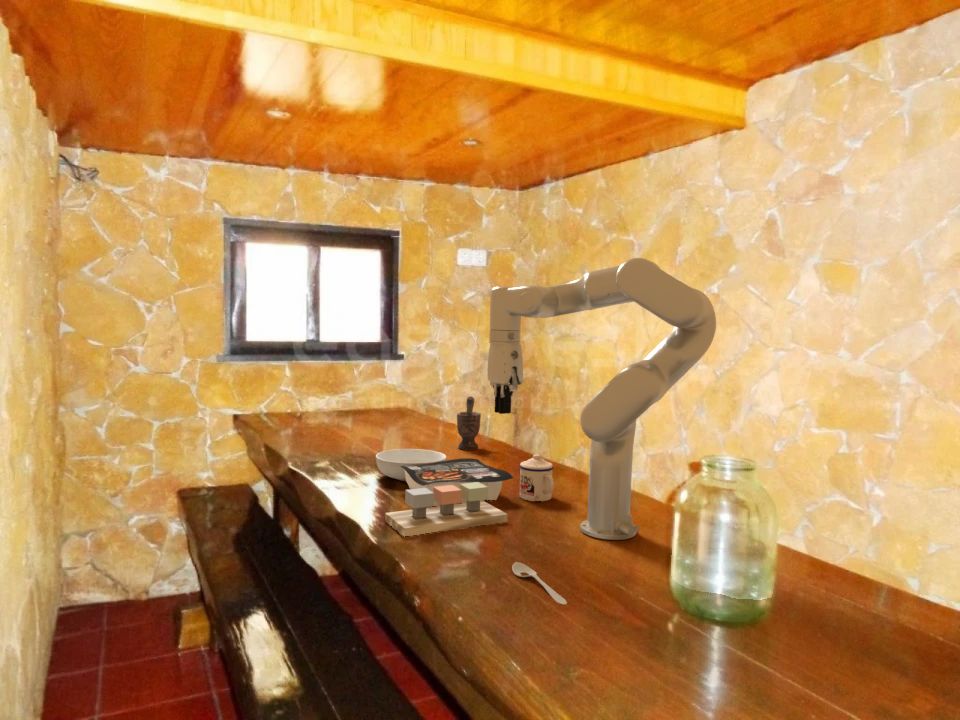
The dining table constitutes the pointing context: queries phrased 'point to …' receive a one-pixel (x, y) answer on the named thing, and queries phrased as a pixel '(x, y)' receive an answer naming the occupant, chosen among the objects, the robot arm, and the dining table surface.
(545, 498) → the teacup with lid
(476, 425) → the mortar and pestle
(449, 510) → the terracotta button
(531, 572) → the spoon
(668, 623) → the dining table surface
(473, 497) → the sage button
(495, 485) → the food packaging
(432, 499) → the slate button
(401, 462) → the serving bowl
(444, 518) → the button board
